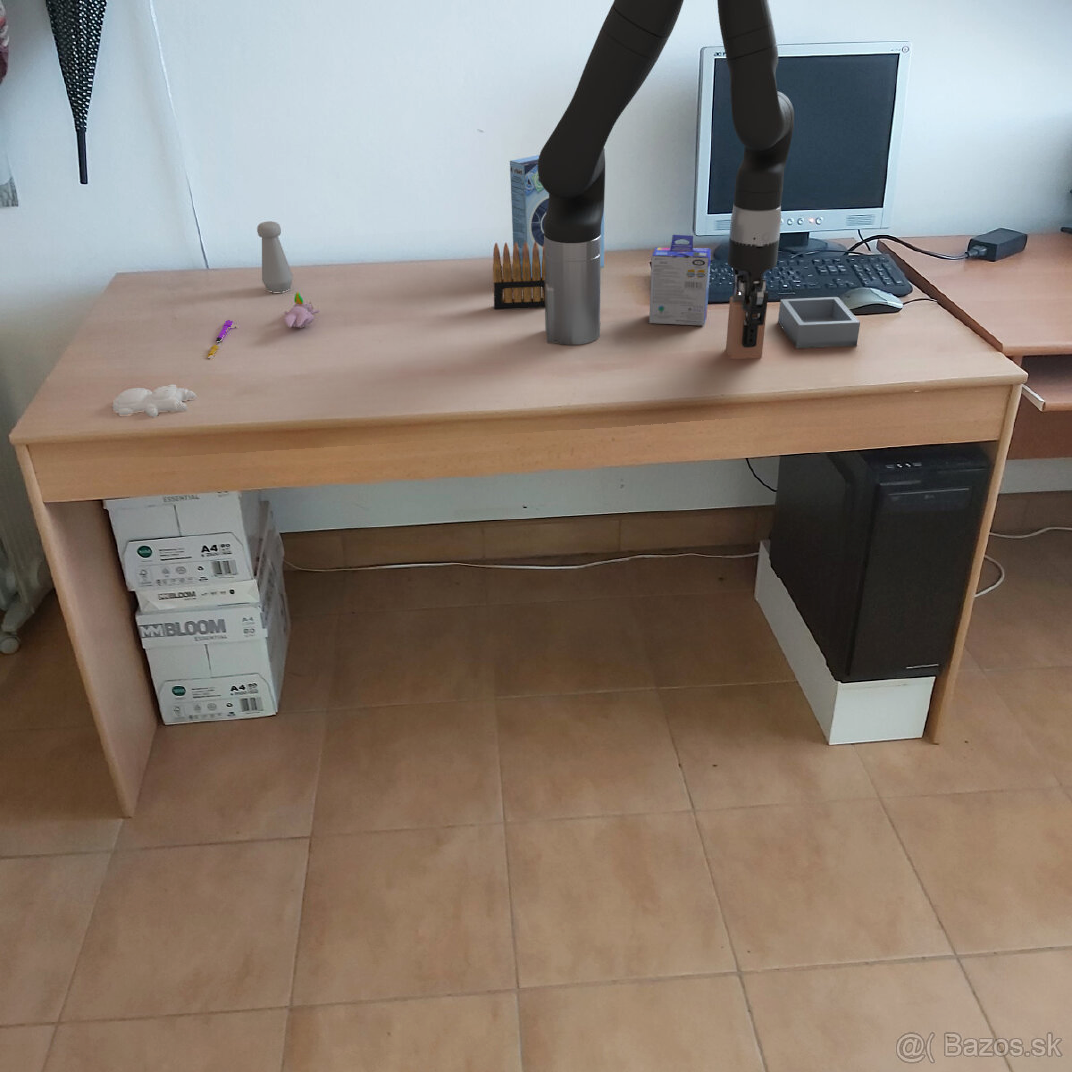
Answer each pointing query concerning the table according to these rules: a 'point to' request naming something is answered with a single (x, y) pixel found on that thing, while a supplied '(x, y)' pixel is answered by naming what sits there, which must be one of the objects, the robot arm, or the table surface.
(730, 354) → the tan slab
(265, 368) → the table surface
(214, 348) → the marker pen
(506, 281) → the ammunition clip
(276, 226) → the salt shaker
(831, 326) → the organizer bin
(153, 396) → the white flat lumpy piece
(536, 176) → the blue fan box
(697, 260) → the ink cartridge box
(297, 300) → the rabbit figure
